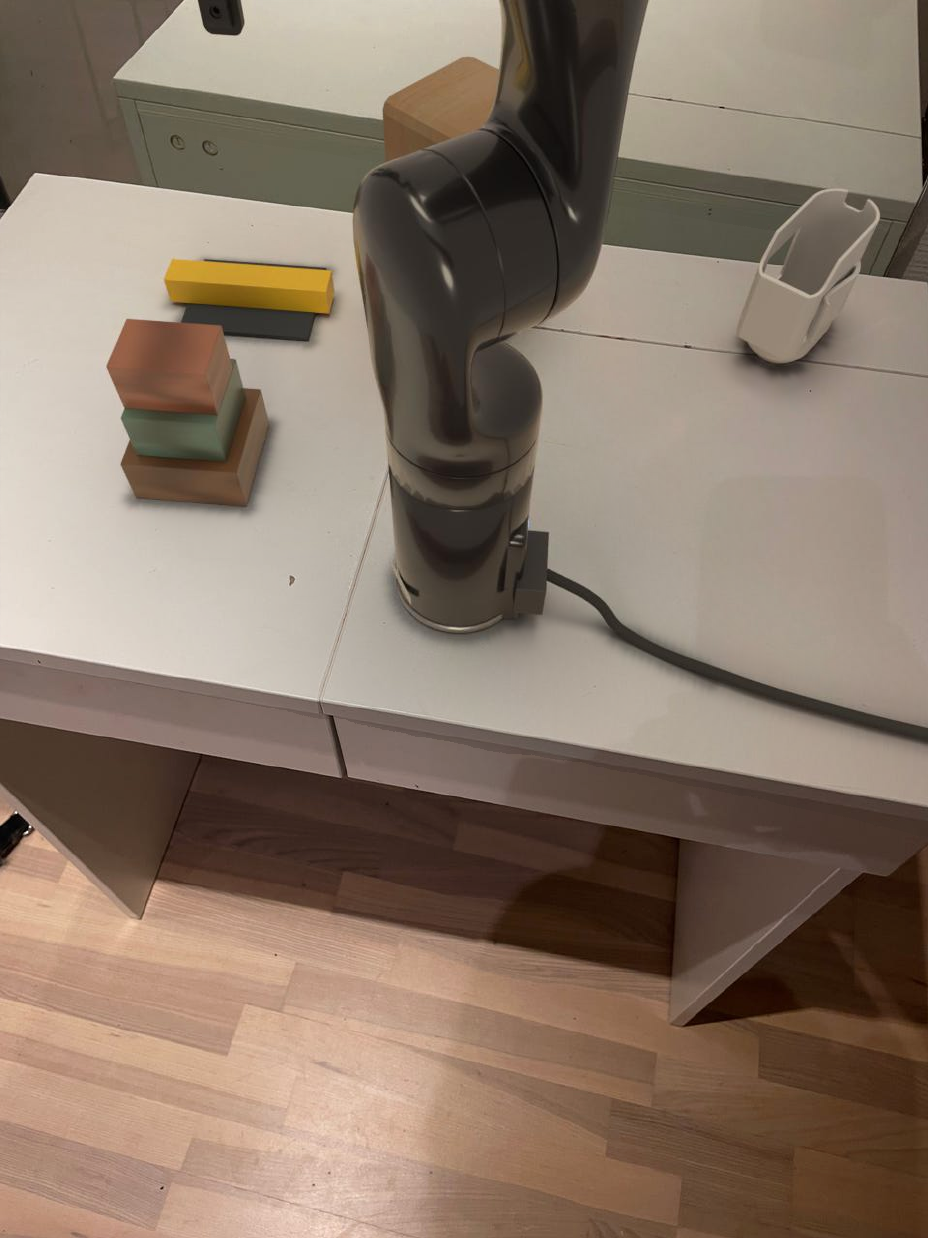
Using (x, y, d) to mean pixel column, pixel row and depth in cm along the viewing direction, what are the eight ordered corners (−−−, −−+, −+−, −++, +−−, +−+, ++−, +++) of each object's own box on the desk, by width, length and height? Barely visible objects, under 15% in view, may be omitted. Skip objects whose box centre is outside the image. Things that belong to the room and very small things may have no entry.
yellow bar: (334, 292, 83) (331, 270, 81) (329, 313, 81) (326, 291, 79) (178, 281, 83) (171, 258, 81) (170, 301, 82) (163, 279, 79)
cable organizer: (719, 361, 79) (760, 244, 69) (785, 293, 84) (832, 174, 74) (784, 395, 77) (836, 280, 67) (848, 323, 82) (905, 206, 72)
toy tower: (269, 423, 74) (241, 307, 64) (246, 506, 70) (212, 395, 59) (165, 416, 75) (120, 299, 64) (135, 497, 70) (82, 385, 60)
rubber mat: (326, 270, 85) (326, 267, 85) (308, 341, 80) (308, 337, 79) (205, 262, 85) (204, 258, 85) (179, 331, 80) (178, 327, 80)
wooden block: (390, 316, 82) (376, 95, 65) (462, 267, 86) (467, 47, 69) (468, 368, 78) (475, 150, 61) (540, 314, 82) (565, 95, 65)
